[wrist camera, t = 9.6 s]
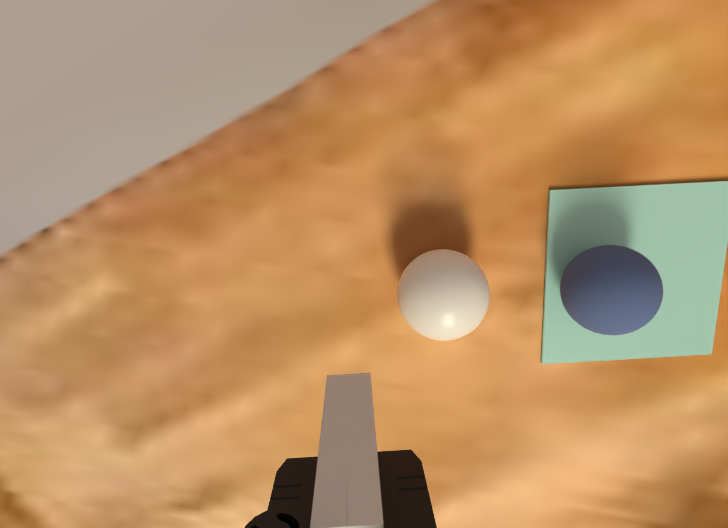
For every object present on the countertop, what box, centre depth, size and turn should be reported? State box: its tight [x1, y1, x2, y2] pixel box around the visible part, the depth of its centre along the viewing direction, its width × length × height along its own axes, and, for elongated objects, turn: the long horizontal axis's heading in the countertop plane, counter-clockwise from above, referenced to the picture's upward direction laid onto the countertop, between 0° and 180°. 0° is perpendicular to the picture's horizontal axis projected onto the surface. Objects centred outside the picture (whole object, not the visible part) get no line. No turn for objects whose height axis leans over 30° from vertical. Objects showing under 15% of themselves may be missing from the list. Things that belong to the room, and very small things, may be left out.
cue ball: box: [397, 249, 490, 340], centre depth 27 cm, size 6×6×6 cm
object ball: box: [560, 245, 663, 335], centre depth 27 cm, size 6×6×6 cm
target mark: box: [541, 181, 728, 364], centre depth 30 cm, size 12×12×1 cm
